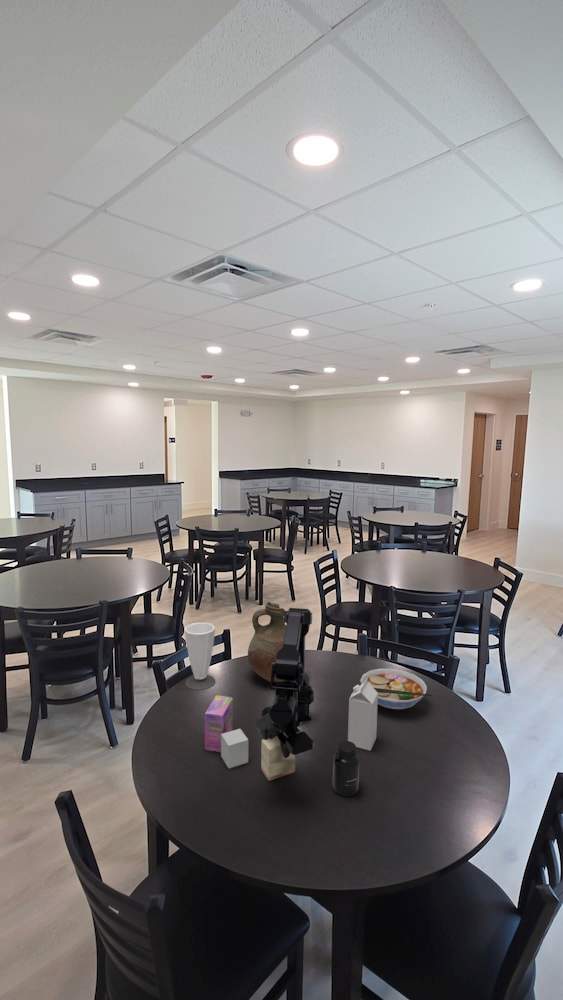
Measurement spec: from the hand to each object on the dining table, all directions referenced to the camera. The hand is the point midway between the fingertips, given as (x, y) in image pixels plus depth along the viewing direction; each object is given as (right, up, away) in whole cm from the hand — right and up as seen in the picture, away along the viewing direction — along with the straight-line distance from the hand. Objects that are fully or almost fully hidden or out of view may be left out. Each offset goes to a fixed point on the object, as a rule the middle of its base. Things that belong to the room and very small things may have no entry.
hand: (286, 756), depth 129 cm
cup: (-32, 0, +53) cm, 62 cm away
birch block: (-2, -6, +5) cm, 8 cm away
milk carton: (+24, -5, +18) cm, 30 cm away
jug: (-3, 0, +57) cm, 57 cm away
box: (-20, -5, +18) cm, 27 cm away
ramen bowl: (+38, -3, +40) cm, 55 cm away
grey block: (-15, -6, +9) cm, 18 cm away
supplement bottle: (+16, -8, -2) cm, 18 cm away
